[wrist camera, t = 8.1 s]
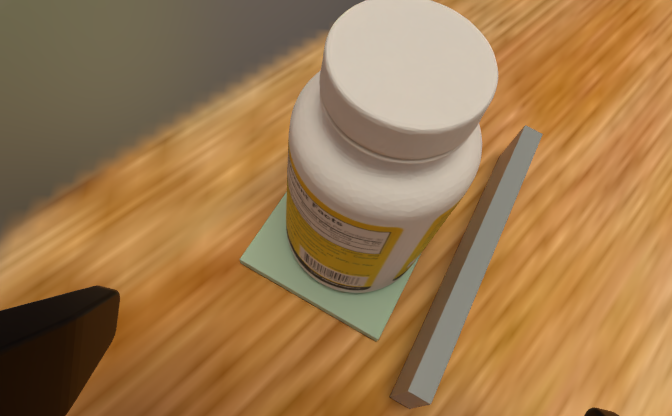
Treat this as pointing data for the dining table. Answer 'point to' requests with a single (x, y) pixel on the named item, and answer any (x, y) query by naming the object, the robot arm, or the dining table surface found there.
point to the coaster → (283, 269)
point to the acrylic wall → (464, 275)
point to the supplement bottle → (385, 140)
